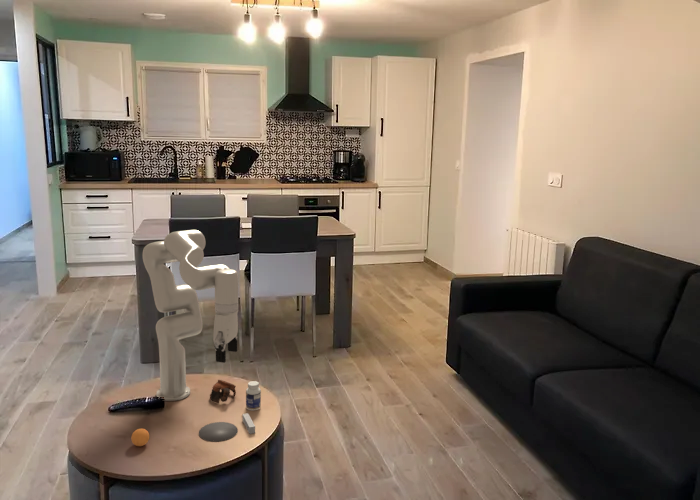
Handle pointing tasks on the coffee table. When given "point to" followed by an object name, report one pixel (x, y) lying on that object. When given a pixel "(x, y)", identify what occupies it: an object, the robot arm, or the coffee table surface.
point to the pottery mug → (225, 389)
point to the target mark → (218, 431)
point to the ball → (140, 437)
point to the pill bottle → (253, 396)
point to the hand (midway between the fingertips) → (226, 356)
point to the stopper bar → (248, 423)
